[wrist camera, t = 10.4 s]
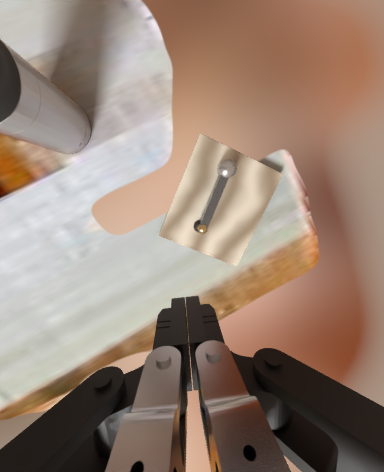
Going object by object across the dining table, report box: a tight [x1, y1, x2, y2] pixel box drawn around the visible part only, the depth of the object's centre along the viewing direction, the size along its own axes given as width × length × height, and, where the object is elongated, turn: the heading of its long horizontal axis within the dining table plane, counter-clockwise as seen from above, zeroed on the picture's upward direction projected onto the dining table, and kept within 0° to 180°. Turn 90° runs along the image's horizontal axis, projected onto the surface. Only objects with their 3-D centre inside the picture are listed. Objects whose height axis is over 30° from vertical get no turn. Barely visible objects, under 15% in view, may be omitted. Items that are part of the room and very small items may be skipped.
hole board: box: [159, 133, 283, 266], centre depth 41 cm, size 18×21×2 cm
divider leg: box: [197, 159, 237, 234], centre depth 39 cm, size 14×3×2 cm, turn 158°
